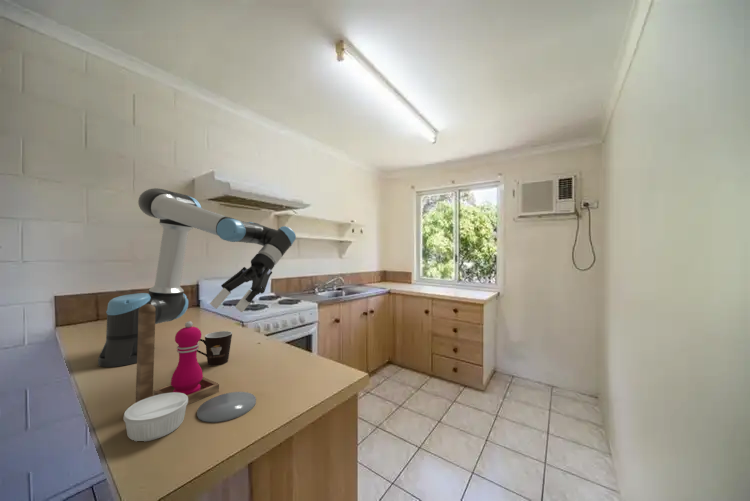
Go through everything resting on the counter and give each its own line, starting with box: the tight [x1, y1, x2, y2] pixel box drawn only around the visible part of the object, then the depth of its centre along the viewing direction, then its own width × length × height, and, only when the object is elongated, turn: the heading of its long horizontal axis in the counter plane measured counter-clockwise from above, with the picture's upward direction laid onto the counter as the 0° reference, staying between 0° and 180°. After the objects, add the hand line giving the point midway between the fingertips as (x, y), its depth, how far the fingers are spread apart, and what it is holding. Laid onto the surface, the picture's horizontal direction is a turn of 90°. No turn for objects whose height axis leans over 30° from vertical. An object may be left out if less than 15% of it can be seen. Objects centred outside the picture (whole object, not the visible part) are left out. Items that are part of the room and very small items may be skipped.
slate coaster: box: [196, 391, 257, 423], centre depth 68 cm, size 13×13×1 cm
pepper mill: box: [170, 320, 204, 395], centre depth 74 cm, size 7×7×20 cm
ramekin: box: [122, 392, 188, 442], centre depth 60 cm, size 11×11×5 cm
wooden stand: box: [135, 304, 220, 406], centre depth 72 cm, size 18×12×26 cm, turn 150°
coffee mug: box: [197, 330, 233, 367], centre depth 97 cm, size 12×9×10 cm
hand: (225, 307), depth 85 cm, fingers open, 13 cm apart
